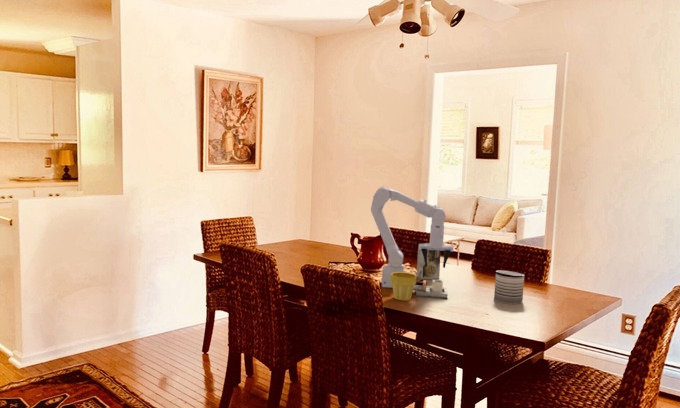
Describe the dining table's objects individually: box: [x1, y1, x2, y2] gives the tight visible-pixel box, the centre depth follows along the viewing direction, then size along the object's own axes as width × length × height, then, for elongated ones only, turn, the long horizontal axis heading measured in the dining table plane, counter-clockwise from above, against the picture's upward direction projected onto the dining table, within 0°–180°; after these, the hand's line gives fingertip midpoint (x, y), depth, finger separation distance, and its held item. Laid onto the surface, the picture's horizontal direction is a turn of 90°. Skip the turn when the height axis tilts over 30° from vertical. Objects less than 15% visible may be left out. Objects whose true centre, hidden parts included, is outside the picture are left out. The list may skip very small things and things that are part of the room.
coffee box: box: [416, 242, 441, 280], centre depth 264 cm, size 9×6×16 cm
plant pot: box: [391, 271, 418, 301], centre depth 226 cm, size 10×10×10 cm
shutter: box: [413, 279, 427, 291], centre depth 235 cm, size 6×6×3 cm
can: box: [493, 269, 525, 305], centre depth 230 cm, size 11×11×12 cm
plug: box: [431, 279, 444, 292], centre depth 234 cm, size 4×4×6 cm
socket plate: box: [415, 285, 449, 300], centre depth 235 cm, size 12×11×2 cm
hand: (434, 266), depth 243 cm, fingers open, 7 cm apart
